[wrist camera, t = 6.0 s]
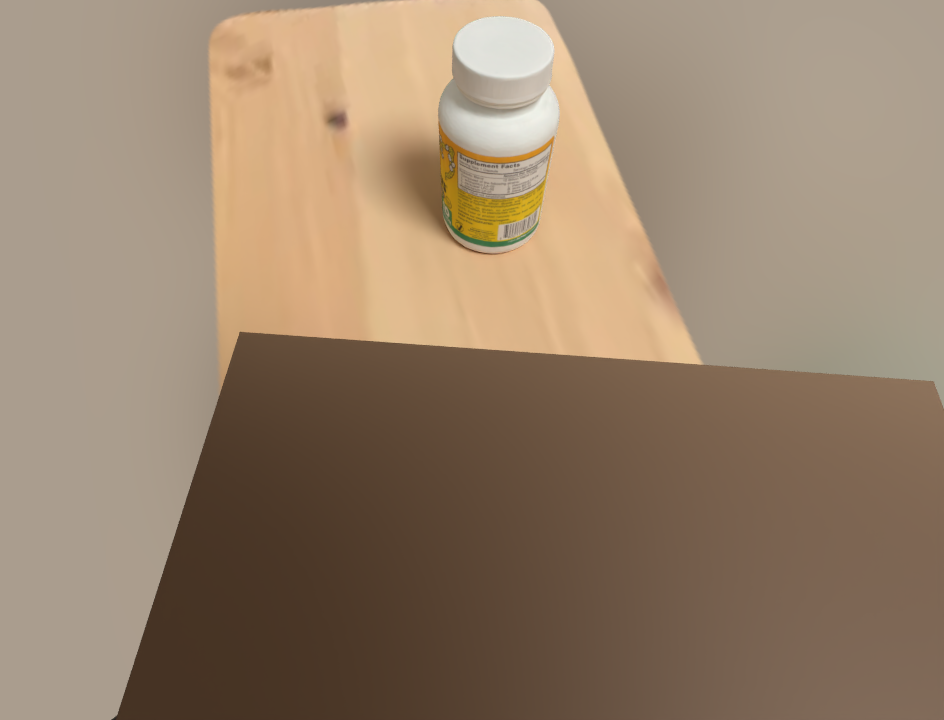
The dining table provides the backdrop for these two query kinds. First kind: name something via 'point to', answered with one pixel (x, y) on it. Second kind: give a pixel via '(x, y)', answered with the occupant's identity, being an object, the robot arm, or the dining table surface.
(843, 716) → the post
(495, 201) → the supplement bottle
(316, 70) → the dining table surface
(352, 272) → the dining table surface
